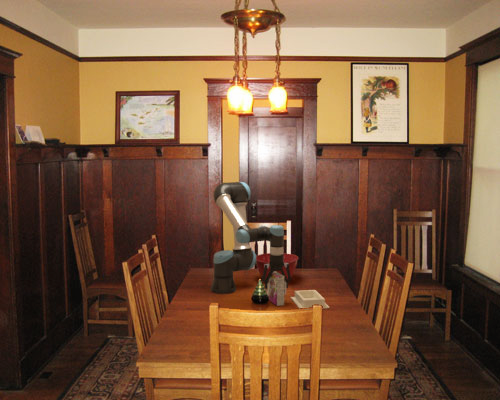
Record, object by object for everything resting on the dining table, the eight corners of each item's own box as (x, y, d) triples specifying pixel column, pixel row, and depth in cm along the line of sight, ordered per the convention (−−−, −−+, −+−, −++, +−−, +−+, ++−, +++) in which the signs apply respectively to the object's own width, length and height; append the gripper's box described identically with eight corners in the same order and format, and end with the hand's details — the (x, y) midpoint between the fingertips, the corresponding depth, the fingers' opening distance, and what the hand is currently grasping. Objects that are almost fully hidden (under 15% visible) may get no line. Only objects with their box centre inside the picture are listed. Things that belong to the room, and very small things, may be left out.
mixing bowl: (248, 284, 292) (248, 260, 290) (261, 273, 319) (261, 251, 317) (292, 288, 283) (292, 264, 281) (302, 276, 310) (302, 254, 308)
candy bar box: (268, 300, 261) (268, 271, 260) (276, 299, 263) (276, 271, 262) (276, 306, 251) (276, 276, 249) (284, 305, 253) (285, 276, 251)
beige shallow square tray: (300, 309, 246) (300, 301, 246) (290, 297, 266) (290, 290, 265) (329, 308, 249) (329, 299, 248) (317, 296, 269) (317, 288, 268)
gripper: (258, 256, 249) (258, 297, 251) (297, 254, 252) (297, 295, 255) (255, 253, 256) (255, 293, 258) (294, 251, 260) (293, 291, 262)
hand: (276, 294), depth 257 cm, fingers open, 9 cm apart
